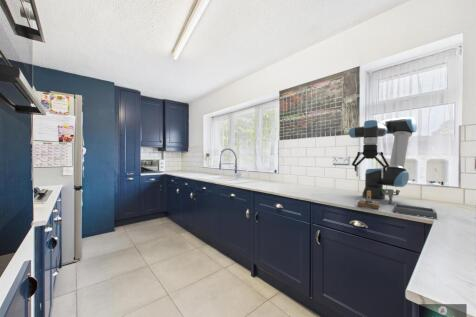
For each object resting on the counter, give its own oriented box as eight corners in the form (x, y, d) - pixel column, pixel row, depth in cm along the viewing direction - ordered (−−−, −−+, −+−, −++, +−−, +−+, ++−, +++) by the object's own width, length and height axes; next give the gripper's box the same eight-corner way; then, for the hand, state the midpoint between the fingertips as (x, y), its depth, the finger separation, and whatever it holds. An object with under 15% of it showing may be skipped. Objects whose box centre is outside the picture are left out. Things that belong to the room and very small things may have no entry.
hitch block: (359, 203, 138) (360, 199, 138) (379, 206, 131) (379, 201, 131) (357, 206, 129) (357, 202, 129) (378, 209, 122) (378, 205, 122)
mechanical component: (400, 204, 136) (400, 190, 135) (383, 203, 138) (383, 189, 137) (397, 203, 139) (397, 189, 138) (380, 202, 141) (381, 188, 140)
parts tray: (393, 208, 126) (394, 203, 126) (433, 213, 115) (433, 208, 115) (393, 212, 118) (394, 207, 118) (436, 218, 106) (436, 213, 106)
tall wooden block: (367, 205, 133) (367, 190, 132) (371, 206, 131) (371, 190, 131) (366, 207, 129) (366, 191, 128) (370, 207, 127) (370, 192, 127)
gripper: (347, 144, 134) (346, 176, 134) (394, 143, 118) (393, 179, 119) (349, 145, 140) (348, 175, 140) (394, 144, 124) (393, 178, 125)
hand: (369, 177), depth 129 cm, fingers open, 13 cm apart
